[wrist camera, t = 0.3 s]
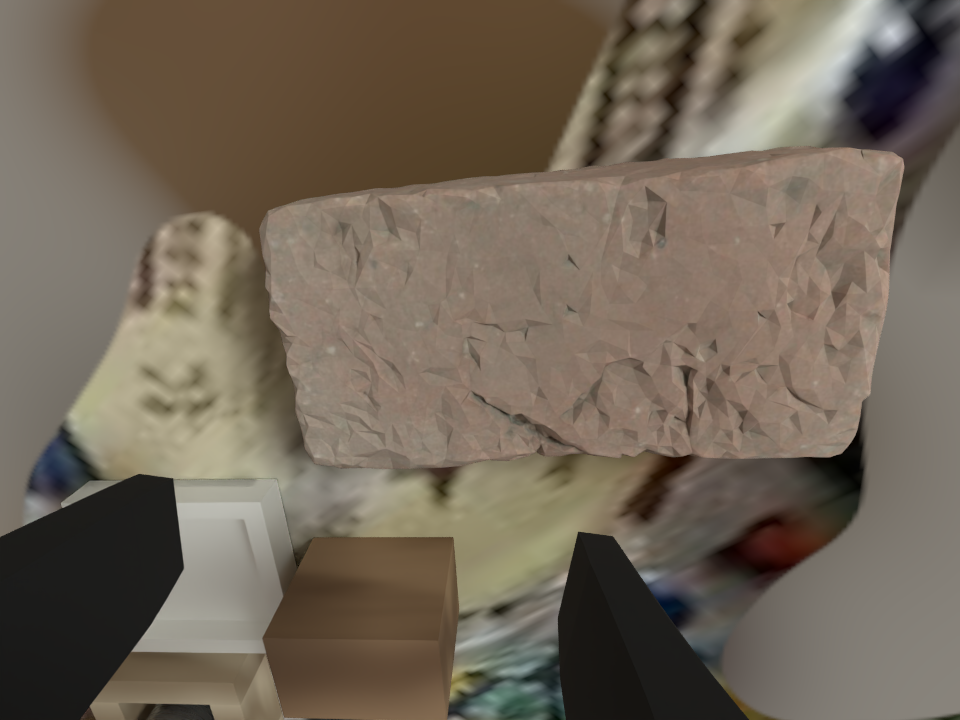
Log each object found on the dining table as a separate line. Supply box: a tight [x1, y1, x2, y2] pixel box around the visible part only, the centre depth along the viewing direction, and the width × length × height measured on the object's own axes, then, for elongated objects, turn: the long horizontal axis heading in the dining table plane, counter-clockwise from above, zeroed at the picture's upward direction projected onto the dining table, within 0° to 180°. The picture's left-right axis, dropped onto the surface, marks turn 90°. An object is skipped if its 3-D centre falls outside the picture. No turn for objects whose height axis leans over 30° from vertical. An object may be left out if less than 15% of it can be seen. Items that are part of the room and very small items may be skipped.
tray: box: [61, 479, 297, 654], centre depth 22 cm, size 8×8×2 cm
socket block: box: [90, 652, 284, 720], centre depth 24 cm, size 7×7×2 cm
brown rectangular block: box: [262, 537, 459, 720], centre depth 20 cm, size 4×6×5 cm, turn 93°
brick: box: [259, 146, 904, 469], centre depth 16 cm, size 17×8×5 cm, turn 95°
